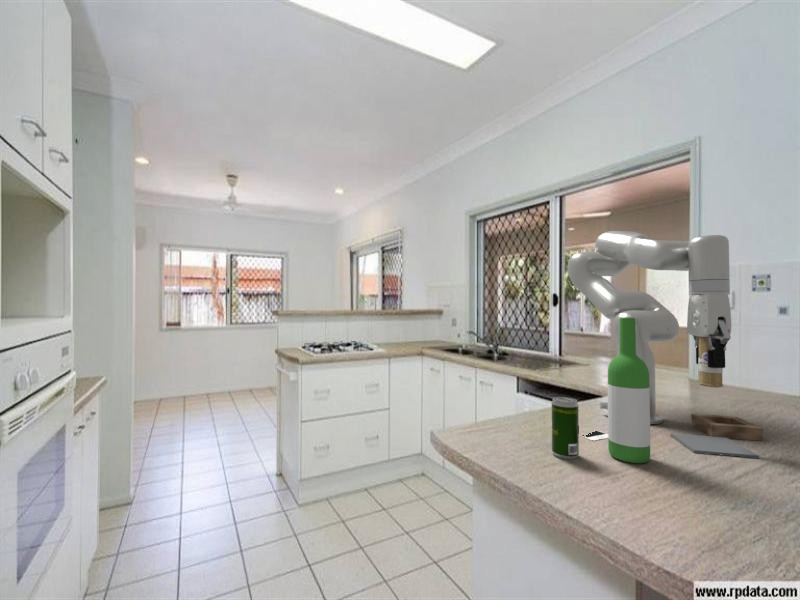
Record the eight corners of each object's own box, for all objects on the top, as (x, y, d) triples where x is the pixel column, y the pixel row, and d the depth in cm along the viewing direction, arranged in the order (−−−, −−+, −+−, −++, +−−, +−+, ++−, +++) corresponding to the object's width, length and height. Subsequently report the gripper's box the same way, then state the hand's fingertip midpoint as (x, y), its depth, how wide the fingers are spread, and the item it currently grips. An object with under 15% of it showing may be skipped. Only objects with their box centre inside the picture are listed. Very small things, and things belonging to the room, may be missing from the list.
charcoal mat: (694, 452, 84) (694, 450, 84) (670, 435, 96) (670, 433, 96) (759, 458, 81) (759, 455, 81) (726, 440, 93) (726, 437, 93)
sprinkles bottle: (698, 386, 89) (697, 328, 89) (698, 383, 92) (697, 328, 93) (723, 388, 86) (722, 329, 86) (723, 385, 89) (722, 328, 90)
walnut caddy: (712, 436, 95) (711, 424, 95) (691, 424, 105) (691, 413, 105) (762, 440, 93) (762, 428, 93) (736, 427, 103) (736, 416, 103)
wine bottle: (611, 461, 79) (609, 317, 80) (605, 449, 86) (604, 317, 87) (654, 467, 76) (652, 318, 77) (645, 454, 84) (644, 317, 84)
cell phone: (593, 443, 92) (593, 440, 92) (542, 424, 106) (542, 422, 106) (615, 438, 95) (614, 436, 95) (563, 421, 109) (563, 419, 109)
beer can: (584, 457, 81) (583, 401, 82) (566, 461, 79) (566, 403, 79) (563, 449, 86) (563, 395, 87) (546, 452, 84) (546, 398, 84)
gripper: (674, 290, 99) (675, 361, 98) (709, 286, 83) (711, 370, 82) (707, 290, 97) (709, 362, 97) (751, 286, 81) (752, 372, 80)
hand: (710, 365), depth 89 cm, fingers closed on sprinkles bottle, 4 cm apart
